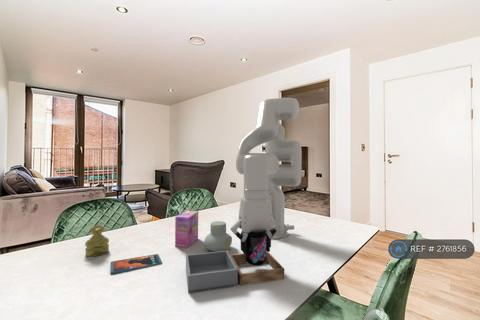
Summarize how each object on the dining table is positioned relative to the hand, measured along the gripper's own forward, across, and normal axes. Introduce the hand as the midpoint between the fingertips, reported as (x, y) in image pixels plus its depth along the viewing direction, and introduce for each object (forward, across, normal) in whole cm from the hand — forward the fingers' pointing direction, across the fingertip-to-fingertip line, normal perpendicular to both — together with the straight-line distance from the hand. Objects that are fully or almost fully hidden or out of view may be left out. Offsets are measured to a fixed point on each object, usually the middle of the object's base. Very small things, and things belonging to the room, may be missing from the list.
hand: (255, 250), depth 74 cm
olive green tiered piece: (+6, +52, -27) cm, 58 cm away
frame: (+6, 0, +1) cm, 6 cm away
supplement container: (+4, 0, 0) cm, 4 cm away
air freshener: (+7, +8, -19) cm, 22 cm away
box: (+7, +20, -29) cm, 35 cm away
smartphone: (+6, +36, -14) cm, 39 cm away
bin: (+6, +14, +1) cm, 16 cm away
